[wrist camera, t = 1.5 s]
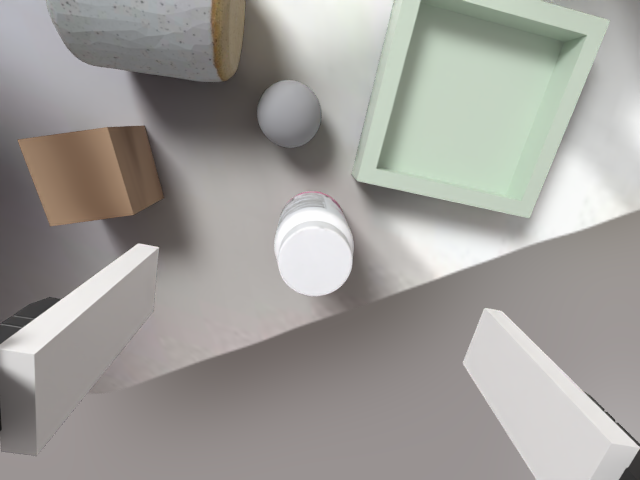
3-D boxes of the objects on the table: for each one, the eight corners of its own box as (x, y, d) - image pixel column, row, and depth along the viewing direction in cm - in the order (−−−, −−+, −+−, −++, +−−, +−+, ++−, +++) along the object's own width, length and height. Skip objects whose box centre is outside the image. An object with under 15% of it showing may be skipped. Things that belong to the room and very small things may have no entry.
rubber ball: (256, 138, 25) (247, 141, 21) (266, 76, 24) (259, 68, 20) (313, 151, 26) (314, 156, 22) (325, 90, 24) (329, 86, 21)
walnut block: (96, 207, 26) (50, 226, 22) (72, 135, 25) (17, 139, 20) (164, 197, 26) (133, 214, 22) (145, 125, 25) (107, 127, 20)
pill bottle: (350, 242, 28) (368, 292, 20) (290, 258, 28) (284, 313, 20) (335, 181, 26) (348, 209, 18) (272, 199, 27) (257, 234, 19)
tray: (351, 174, 26) (356, 180, 23) (398, -17, 23) (411, -37, 20) (506, 208, 27) (529, 218, 25) (574, 32, 24) (610, 20, 21)
